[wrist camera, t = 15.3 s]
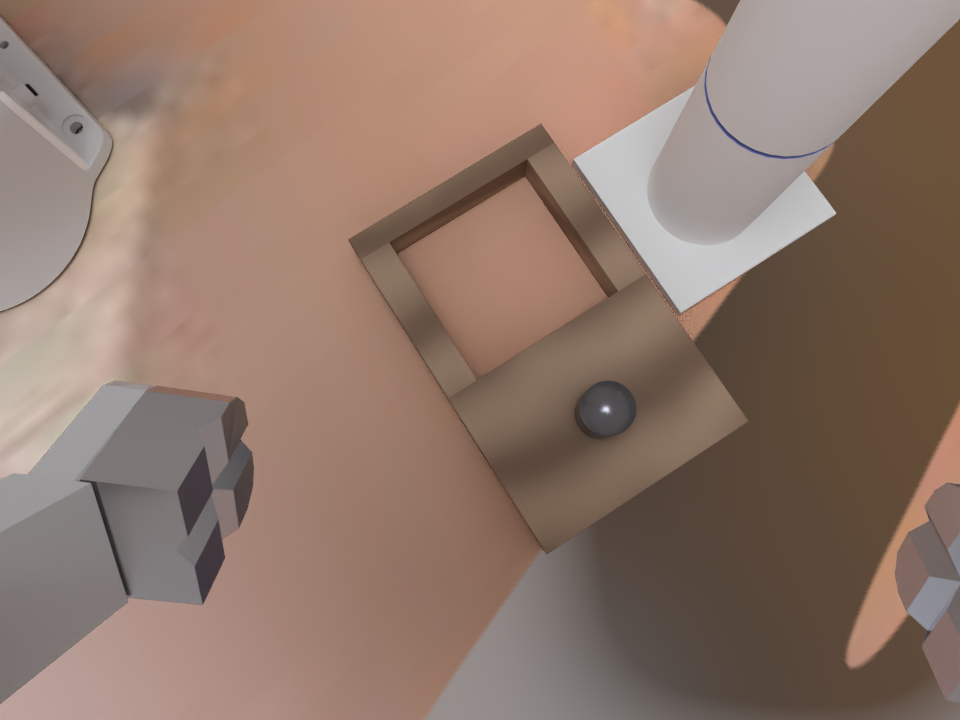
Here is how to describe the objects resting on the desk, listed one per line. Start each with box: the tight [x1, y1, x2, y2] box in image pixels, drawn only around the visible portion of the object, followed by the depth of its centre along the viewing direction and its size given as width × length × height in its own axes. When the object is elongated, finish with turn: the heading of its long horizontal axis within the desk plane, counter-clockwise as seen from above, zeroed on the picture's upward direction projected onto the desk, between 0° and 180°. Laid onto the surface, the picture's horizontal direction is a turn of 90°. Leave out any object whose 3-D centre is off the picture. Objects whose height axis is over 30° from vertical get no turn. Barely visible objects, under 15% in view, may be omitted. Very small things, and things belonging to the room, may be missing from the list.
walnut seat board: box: [348, 124, 748, 554], centre depth 44 cm, size 22×14×6 cm, turn 32°
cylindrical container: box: [647, 0, 960, 245], centre depth 35 cm, size 7×7×25 cm
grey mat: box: [572, 85, 836, 316], centre depth 48 cm, size 12×12×1 cm
